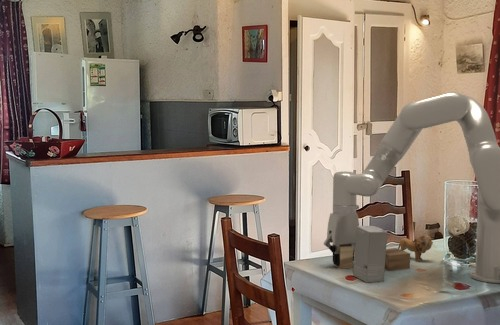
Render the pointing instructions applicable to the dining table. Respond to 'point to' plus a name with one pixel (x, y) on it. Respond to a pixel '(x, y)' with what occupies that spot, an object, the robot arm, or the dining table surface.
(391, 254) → the walnut block
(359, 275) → the skincare box
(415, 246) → the lion figurine
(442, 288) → the dining table surface
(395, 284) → the dining table surface
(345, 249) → the oak block
